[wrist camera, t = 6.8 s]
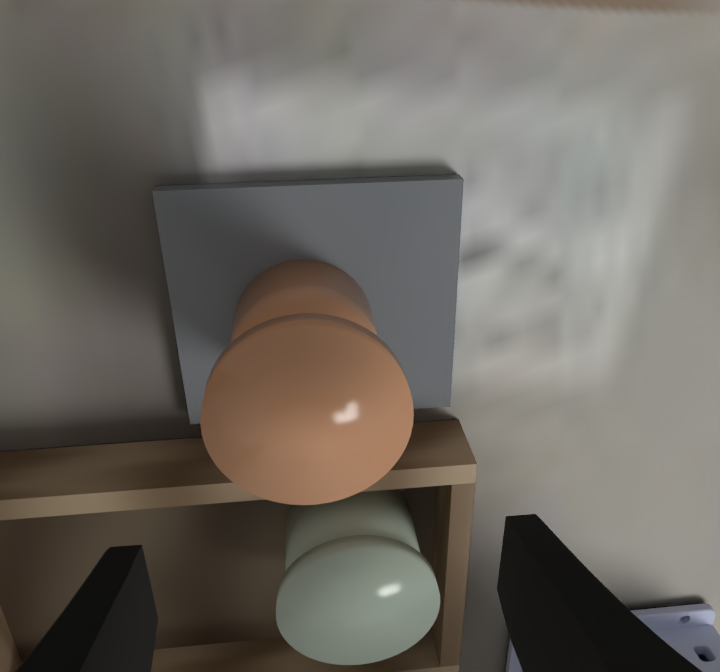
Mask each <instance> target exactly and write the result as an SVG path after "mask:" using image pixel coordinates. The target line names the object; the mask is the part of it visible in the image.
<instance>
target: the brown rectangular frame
mask: <svg viewBox="0 0 720 672" xmlns="http://www.w3.org/2000/svg"><path fill="white" fill-rule="evenodd" d="M476 469H477V463H476V461H475V458H474V456H473V453H472V451H471V448H470V446H469V444H468V441H467V439H466V436H465V434H464V432H463V429H462V427H461V424H460V422H459V419H458V420H444V421H429V422H415V423H413V427H412V432H411V436H410V438H409V441H408V444H407V446H406V448H405V450H404V452H403V453H402V455H401V457H400V458H399V460H398V461H397V462H396V464H395V465H394V466H393V467H392V468H391V469H390V470H389V471H388V473H387V474H386V475H384V476H383V477H382V478H381V479H380V480H378V481H377V482H376V483H374V484H373V485H371V486H370V487H368V488H367V489H365V490H363V491H361V492H366V491H379V490H391V489H400V490H401V491H402V492H403V494H404V496H405V497H406V499H407V501H408V504H409V508H410V512H411V516H412V520H413V525H414V529H415V533H416V537H417V541H418V545H419V549H420V553H421V554H422V555H423V556H424V557H425V558H426V559H427V560H428V562H429V563H430V565H431V566H432V569H433V571H434V573H435V577H436V581H437V585H438V589H439V593H440V608H439V612H438V615H437V618H436V620H435V622H434V624H433V625H432V627H431V628H430V630H429V631H428V632H427V633H426V634H425V636H424V637H423V638H422V639H420V640H419V641H418V642H417V643H416V644H414V645H413V646H411V647H410V648H408V649H407V650H405V651H403V652H401V653H400V654H397V655H395V656H393V657H390V658H387V659H384V660H381V661H377V662H373V663H368V664H361V665H337V664H329V663H325V662H320V661H317V660H314V659H311V658H309V657H307V656H305V655H303V654H301V653H300V652H298V651H296V650H295V649H294V648H293V647H292V646H290V645H289V644H288V642H287V641H286V640H285V639H284V638H283V636H282V634H281V633H280V631H279V628H278V626H277V621H276V594H277V588H278V585H279V582H280V580H281V578H282V576H283V574H284V573H285V557H286V515H287V511H288V508H289V506H290V504H284V503H278V502H274V501H270V500H266V499H263V498H261V497H258V496H256V495H253V494H251V493H249V492H247V491H245V490H244V489H242V488H240V487H239V486H238V485H236V484H235V483H233V482H232V481H231V480H230V479H229V478H227V477H226V476H225V475H224V474H223V473H222V472H221V471H220V469H219V468H218V467H217V466H216V465H215V463H214V462H213V460H212V458H211V457H210V455H209V453H208V451H207V449H206V447H205V444H204V441H203V437H202V438H188V439H174V440H160V441H146V442H132V443H117V444H103V445H89V446H75V447H61V448H46V449H32V450H18V451H4V452H0V672H15V671H16V670H17V669H18V667H19V666H20V665H21V664H22V663H23V661H24V660H25V659H26V658H27V657H28V655H29V654H30V653H31V652H32V650H33V649H34V648H35V647H36V645H37V644H38V643H39V642H40V640H41V639H42V638H43V636H44V635H45V634H46V632H47V631H48V630H49V629H50V627H51V626H52V625H53V623H54V622H55V621H56V619H57V618H58V617H59V615H60V614H61V613H62V612H63V610H64V609H65V608H66V606H67V605H68V603H69V602H70V601H71V599H72V598H73V597H74V595H75V594H76V592H77V591H78V590H79V588H80V587H81V585H82V584H83V583H84V581H85V580H86V578H87V577H88V576H89V574H90V573H91V571H92V570H93V568H94V567H95V566H96V564H97V563H98V561H99V560H100V558H101V557H102V555H103V554H104V553H105V551H106V550H107V549H108V548H109V547H117V546H130V545H142V547H143V551H144V556H145V560H146V565H147V570H148V574H149V579H150V583H151V588H152V592H153V597H154V601H155V606H156V611H157V615H158V624H157V631H156V639H155V647H154V654H153V661H152V668H151V672H459V667H460V656H461V644H462V632H463V621H464V609H465V597H466V586H467V574H468V562H469V551H470V539H471V527H472V516H473V504H474V492H475V481H476Z"/></svg>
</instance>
